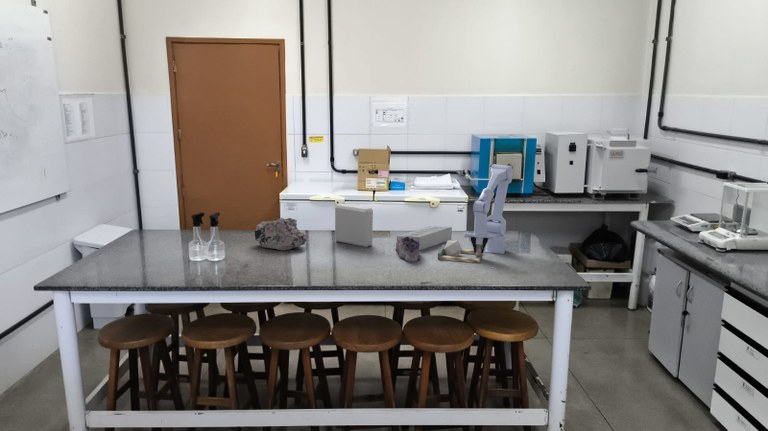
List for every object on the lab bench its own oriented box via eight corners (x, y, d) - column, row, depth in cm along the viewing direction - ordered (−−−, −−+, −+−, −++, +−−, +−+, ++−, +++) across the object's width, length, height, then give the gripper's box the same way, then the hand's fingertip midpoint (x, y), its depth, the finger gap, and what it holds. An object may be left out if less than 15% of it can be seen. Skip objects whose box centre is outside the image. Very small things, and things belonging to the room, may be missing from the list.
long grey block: (429, 236, 315) (430, 222, 313) (451, 240, 306) (451, 227, 304) (396, 246, 292) (396, 232, 291) (418, 251, 283) (419, 237, 282)
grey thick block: (375, 244, 293) (375, 207, 289) (366, 248, 286) (366, 210, 282) (342, 238, 304) (342, 202, 300) (333, 241, 297) (333, 205, 293)
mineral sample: (310, 217, 293) (300, 210, 279) (310, 252, 288) (300, 247, 274) (262, 223, 298) (250, 216, 284) (262, 257, 293) (249, 252, 279)
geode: (427, 262, 265) (425, 242, 262) (403, 266, 263) (401, 246, 260) (416, 249, 284) (415, 230, 281) (394, 253, 282) (392, 234, 279)
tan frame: (482, 253, 280) (483, 240, 278) (480, 263, 264) (480, 249, 263) (442, 250, 284) (443, 237, 283) (437, 259, 269) (438, 245, 267)
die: (456, 261, 269) (466, 244, 271) (441, 251, 270) (451, 234, 271) (454, 262, 277) (464, 245, 279) (439, 253, 278) (449, 236, 279)
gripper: (464, 226, 267) (462, 253, 269) (495, 228, 263) (493, 256, 266) (465, 222, 273) (464, 249, 276) (496, 225, 270) (494, 252, 273)
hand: (478, 252), depth 272 cm, fingers closed on tan frame, 3 cm apart
